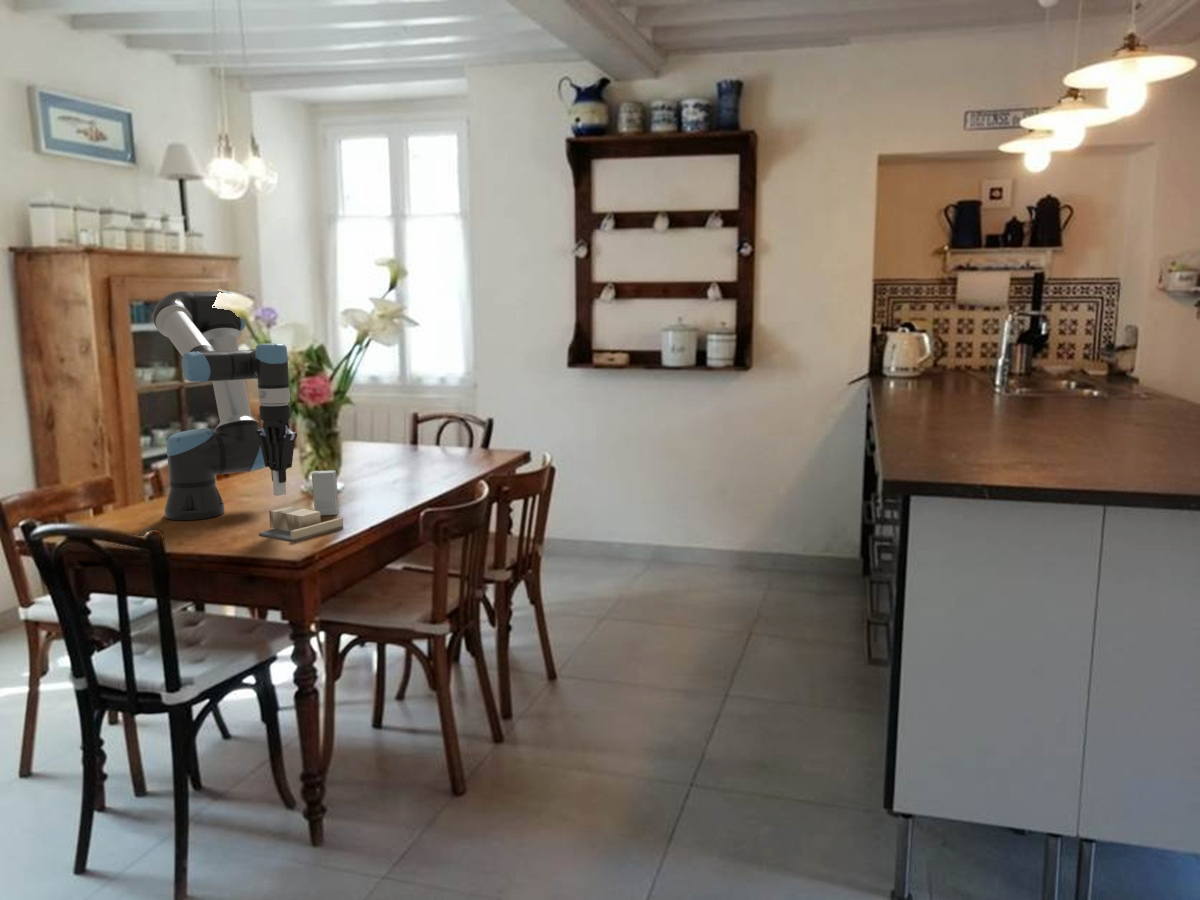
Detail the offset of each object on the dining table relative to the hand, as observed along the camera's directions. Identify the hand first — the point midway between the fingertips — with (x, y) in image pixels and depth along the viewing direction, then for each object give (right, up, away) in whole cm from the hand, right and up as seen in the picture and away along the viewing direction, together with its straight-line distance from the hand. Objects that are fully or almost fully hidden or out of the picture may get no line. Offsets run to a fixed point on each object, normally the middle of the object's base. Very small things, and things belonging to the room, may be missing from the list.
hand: (279, 494), depth 236 cm
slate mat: (+6, -9, -2) cm, 12 cm away
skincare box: (+7, -6, +17) cm, 19 cm away
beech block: (-1, -6, +1) cm, 6 cm away
